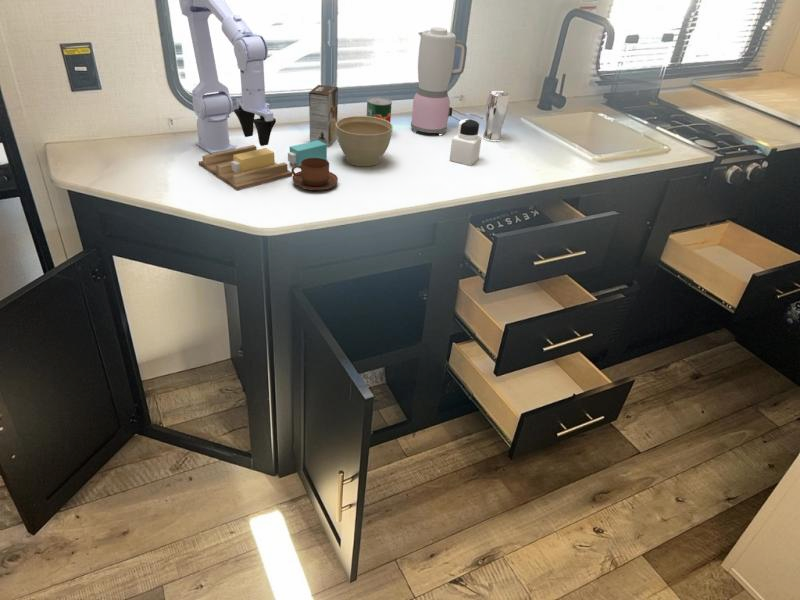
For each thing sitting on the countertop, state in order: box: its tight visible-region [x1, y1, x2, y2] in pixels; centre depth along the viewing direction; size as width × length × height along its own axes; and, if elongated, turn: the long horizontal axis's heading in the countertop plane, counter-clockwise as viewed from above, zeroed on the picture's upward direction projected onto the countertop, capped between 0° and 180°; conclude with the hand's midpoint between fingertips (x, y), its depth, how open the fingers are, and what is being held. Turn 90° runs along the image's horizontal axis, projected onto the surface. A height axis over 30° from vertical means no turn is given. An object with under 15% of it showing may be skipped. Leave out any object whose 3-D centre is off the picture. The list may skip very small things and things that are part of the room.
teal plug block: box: [287, 140, 328, 166], centre depth 172 cm, size 4×11×5 cm, turn 133°
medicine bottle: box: [449, 118, 483, 166], centre depth 181 cm, size 7×7×12 cm
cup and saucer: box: [290, 158, 339, 191], centre depth 160 cm, size 12×12×6 cm
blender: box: [410, 27, 468, 135], centre depth 195 cm, size 16×12×32 cm
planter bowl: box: [336, 115, 393, 167], centre depth 174 cm, size 16×16×11 cm
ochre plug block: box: [231, 147, 276, 174], centre depth 161 cm, size 4×11×5 cm, turn 133°
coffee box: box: [308, 84, 339, 148], centre depth 184 cm, size 9×6×16 cm
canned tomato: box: [366, 96, 393, 123], centre depth 194 cm, size 8×8×11 cm
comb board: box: [198, 144, 293, 191], centre depth 164 cm, size 20×17×3 cm
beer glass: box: [482, 89, 510, 141], centre depth 198 cm, size 7×7×15 cm
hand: (256, 140), depth 158 cm, fingers open, 7 cm apart
